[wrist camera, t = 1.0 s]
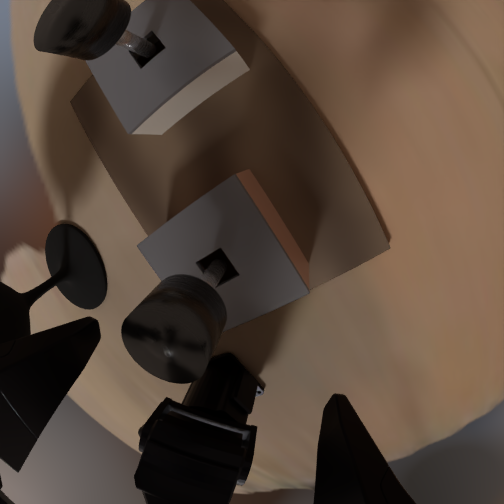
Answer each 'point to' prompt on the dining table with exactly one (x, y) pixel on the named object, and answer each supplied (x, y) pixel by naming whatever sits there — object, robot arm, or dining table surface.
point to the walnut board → (242, 157)
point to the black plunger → (88, 29)
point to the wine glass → (57, 280)
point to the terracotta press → (234, 248)
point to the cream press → (166, 67)
